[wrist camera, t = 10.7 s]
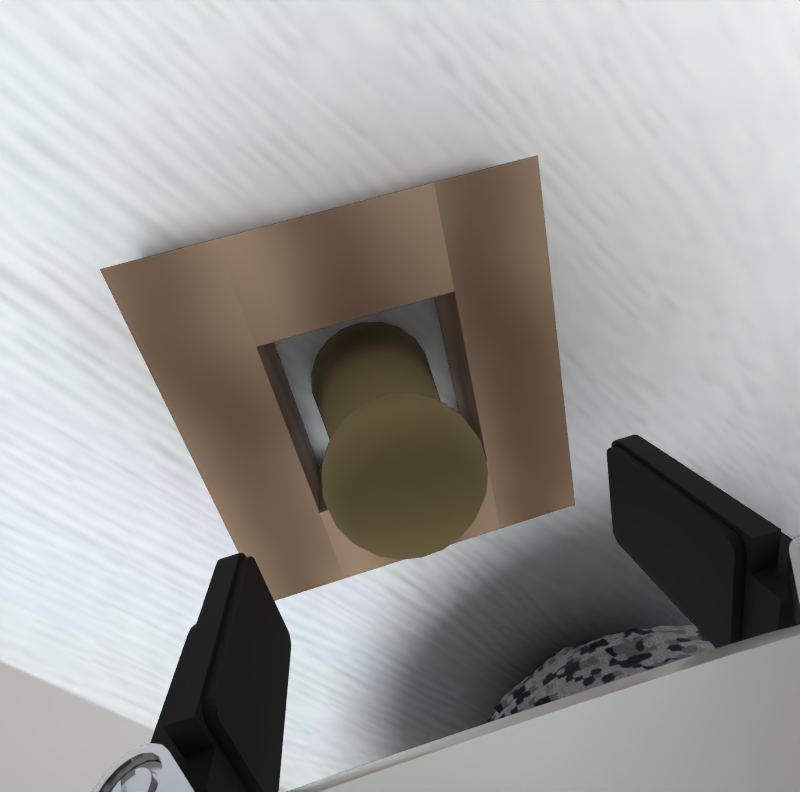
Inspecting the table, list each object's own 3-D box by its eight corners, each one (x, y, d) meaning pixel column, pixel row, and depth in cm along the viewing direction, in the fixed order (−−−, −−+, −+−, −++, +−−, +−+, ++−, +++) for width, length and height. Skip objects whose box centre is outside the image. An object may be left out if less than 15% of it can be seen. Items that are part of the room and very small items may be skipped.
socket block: (497, 168, 20) (537, 155, 16) (538, 465, 26) (574, 504, 23) (142, 260, 19) (99, 269, 15) (271, 548, 25) (263, 604, 21)
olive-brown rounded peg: (291, 409, 22) (270, 561, 12) (343, 300, 21) (367, 371, 11) (396, 450, 24) (453, 612, 14) (450, 353, 23) (557, 456, 13)
